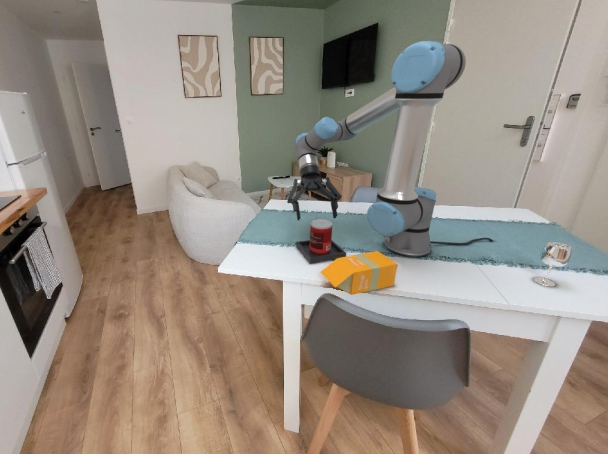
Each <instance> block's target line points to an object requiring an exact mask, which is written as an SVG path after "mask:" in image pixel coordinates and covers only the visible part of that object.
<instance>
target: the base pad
mask: <svg viewBox="0 0 608 454" xmlns="http://www.w3.org/2000/svg"><path fill="white" fill-rule="evenodd" d="M295 248H296V249H297V250H298V251H299V252H300V253H301V255H302V257H304V258H305V259H306V261H307V262H308V263H309V264H310V265H311V264H318V263H324V262H333V261H334V260H336V259H337V258H342V257H347V251H345V250H344V249H343V248H342V247H341V246H339V245H338V244H337V243H336V242H335V241H334V240H333V239H331V250H330V252H329V253H328V254H325V255H317V254H314V253H312V252H311V251H310V239H306V240H301V241H300V240H299V241H296V242H295Z"/></svg>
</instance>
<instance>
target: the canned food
mask: <svg viewBox="0 0 608 454" xmlns="http://www.w3.org/2000/svg"><path fill="white" fill-rule="evenodd" d="M332 236H333V222H332V221H330V220H327V219H322V218H319V219H314V220H312V221H310V227H309V240H310V251H311V252H312V253H314V254H317V255H325V254H328V253H329V252H330V250H331V240H332V238H333V237H332Z"/></svg>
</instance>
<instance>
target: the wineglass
mask: <svg viewBox="0 0 608 454" xmlns="http://www.w3.org/2000/svg"><path fill="white" fill-rule="evenodd" d="M572 253H573V249H572V247H571V246H570V245H568V244H566V243H563V242H557V241H549V242H547V244H546V245H544V247H543V249H542V250H541V252H540V256H539V257H540V260H541V263H543V264H545V265H547V269H546V271H547V272H546V274H545V277H544V278H543V277H535V278H533V280H534V282H535V283H537V284H539V285H541V286H545V287H555V286H556V283H555V282H554V281H552V280H550V279H548V277H549V275H550V273H551V272H552V271H553V269H554V268H560V267H564V266H566V265H568V264H569V263H570V260H571V258H572Z"/></svg>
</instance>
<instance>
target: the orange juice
mask: <svg viewBox="0 0 608 454" xmlns="http://www.w3.org/2000/svg"><path fill="white" fill-rule="evenodd" d="M397 270H398V263H397V262H396V261H394V260H393V259H391V258H389V257H388V256H387V255H385V254H383V253H381V252H380V251H379V250H376V251H370V252H364V253H358V254H354V255H348V256H347V255H346V257H342V258H337V259H336V260H332V261H331V262H330V263H329V264H328V265H327V266H326V267H324V268H323V269H322V270H320V272H319V273H320V274H321V275H322V276H323V277H324V278H325V279H326V280H327V281H328V282H329V283H330V284H331V285H332V286H333V287H334V288H335V289H339V290H340V291H343V292H344V293H347V294H349V295H350V296H353V295H357V294H362V293H367V292H372V291H377V290H380V289H385V288H389V287H394V286H395V280H396V275H397Z"/></svg>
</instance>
